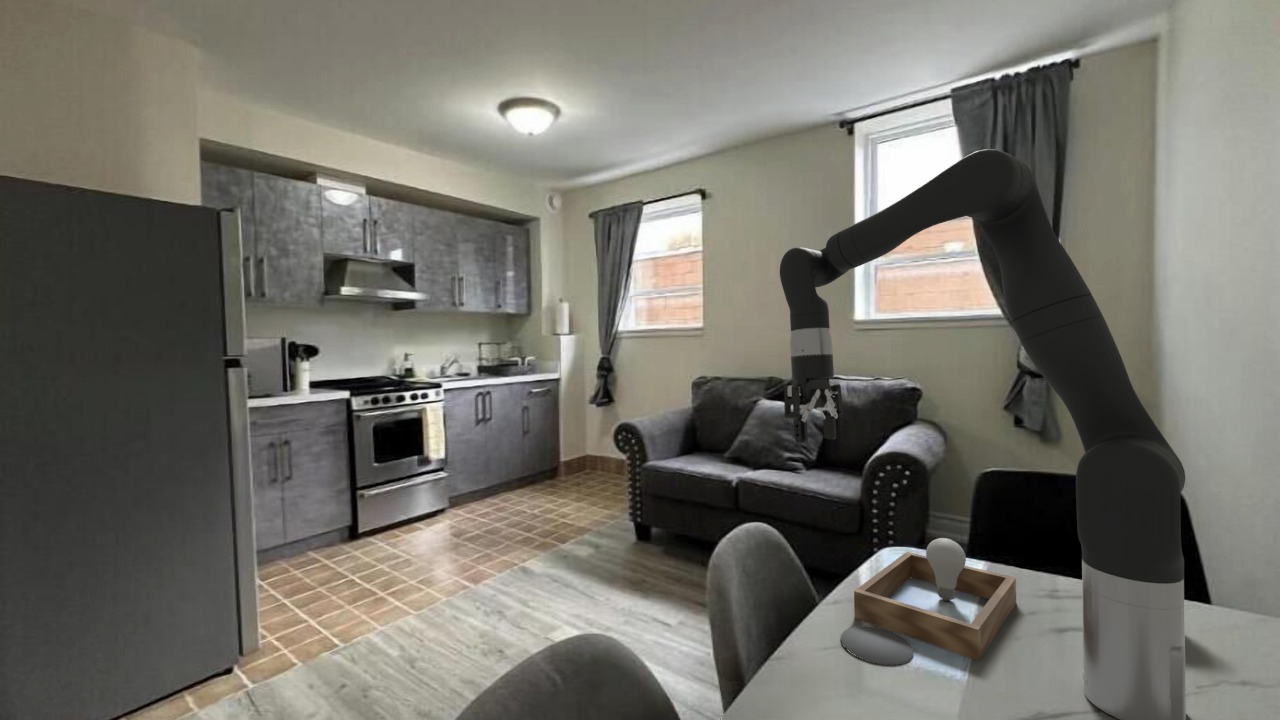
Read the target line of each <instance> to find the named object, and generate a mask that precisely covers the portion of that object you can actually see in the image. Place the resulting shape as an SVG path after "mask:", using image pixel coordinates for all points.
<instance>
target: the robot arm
mask: <svg viewBox="0 0 1280 720" xmlns="http://www.w3.org/2000/svg"><path fill="white" fill-rule="evenodd" d="M965 217H969V218H970V219H971V218H972V219H974V220H975V221H976V223H977V224H978V225H979V227H980V228H981V230H982V231H983V233H984V235H985V236H986V239H987V240H988V241H989V244H990V245H991V248H992V249H993V251H994V254H995V255H996V258H997V260H998V265H999V270H1000V274H1001V277H1000V278H1001V285H1002V286H1001V287H1002V293H1003V299H1004V304H1005V309H1006V310H1007V311H1006V312H1007V314H1008V316H1009V319H1010V322H1011V323H1012V326H1013V328H1014V330H1015V332H1016V335H1017V338H1018V339H1019V342H1020V343H1021V345H1022V347H1023V350H1024V351H1025V354H1027V356H1028V358H1029V359H1030V360H1031V362H1032V363H1033V365H1034V366H1035V368H1036V369H1037V371H1038V372H1039V373H1040V374H1041V375H1042V377H1043V378H1044V379H1045V381H1046V383H1048V384H1049V386H1051V388H1052V389H1053V390H1054V392H1055V393H1056V394H1057V395H1058V397H1059V398H1060V399H1061V400H1062V402H1063V404H1064V406H1065V407H1066V409H1067V410H1068V412H1069V415H1070V417H1071V418H1072V421H1073V422H1074V426H1075V428H1076V430H1077V432H1078V436H1079V438H1080V442H1081V444H1082V446H1083V450H1084V454H1083V455H1082V457H1081V458H1080V459H1079V461H1078V464H1077V467H1076V473H1075V474H1076V476H1075V500H1076V501H1075V502H1076V527H1077V536H1078V541H1079V543H1080V545H1081V546H1080V547H1081V569H1082V570H1081V574H1082V575H1081V576H1082V577H1081V579H1082V581H1081V582H1082V583H1081V587H1082V588H1081V589H1082V592H1081V593H1082V652H1083V653H1082V655H1083V658H1082V661H1083V665H1082V666H1083V667H1082V668H1083V672H1082V676H1083V677H1082V679H1083V692H1084V695H1085V697H1086V698H1087V699H1088V701H1090V703H1092V704H1093V705H1094V706H1095V707H1096V708H1098V709H1100V710H1101V711H1102V712H1103V713H1106V714H1108V715H1109V716H1111V717H1113V718H1115V719H1118V720H1187V716H1186V715H1187V711H1186V710H1187V705H1186V703H1187V701H1186V700H1187V699H1186V696H1187V694H1186V691H1187V690H1186V689H1187V688H1186V635H1185V630H1186V629H1185V628H1186V627H1185V557H1184V554H1183V549H1182V534H1181V532H1182V528H1181V527H1182V525H1181V522H1182V521H1181V519H1182V517H1181V515H1182V514H1181V493H1182V492H1183V490H1184V488H1185V483H1186V472H1185V468H1184V466H1183V463H1182V461H1181V460H1180V458H1179V456H1178V454H1177V453H1176V452H1175V451H1174V449H1173V448H1172V447H1171V445H1170V443H1169V442H1168V441H1167V440H1166V438H1165V437H1164V435H1163V433H1162V432H1161V431H1160V430H1159V428H1158V427H1157V425H1156V424H1155V422H1154V420H1153V419H1152V417H1151V416H1150V414H1149V412H1148V411H1147V410H1146V408H1145V407H1144V405H1143V404H1142V402H1141V400H1140V398H1139V397H1138V394H1137V393H1136V391H1135V389H1134V386H1133V384H1132V382H1131V380H1130V377H1129V373H1128V372H1127V368H1126V366H1125V363H1124V360H1123V358H1122V356H1121V354H1120V353H1121V352H1120V350H1119V349H1118V346H1117V344H1116V341H1115V339H1114V337H1113V334H1112V331H1110V328H1109V326H1108V323H1107V321H1106V319H1105V317H1104V315H1103V313H1102V311H1101V309H1100V307H1099V305H1098V304H1097V301H1096V299H1095V298H1094V295H1093V294H1092V291H1091V290H1090V287H1088V284H1086V281H1085V280H1084V278H1083V276H1082V275H1081V273H1080V271H1079V270H1078V268H1077V266H1076V265H1075V263H1074V261H1073V260H1072V258H1071V256H1070V255H1069V254H1068V252H1067V250H1066V248H1065V247H1064V246H1063V244H1062V242H1060V240H1059V238H1058V237H1057V235H1056V232H1055V231H1054V229H1053V227H1052V225H1051V223H1050V219H1049V217H1048V214H1047V211H1046V209H1045V206H1044V204H1043V199H1042V197H1041V195H1040V191H1039V188H1038V185H1037V182H1036V180H1035V177H1034V174H1033V172H1032V171H1031V169H1030V167H1029V166H1028V165H1027V164H1026V163H1025V162H1024V161H1022V160H1021V159H1019V158H1017V157H1015V156H1014V155H1011V154H1010V153H1007V152H1006V151H1003V150H1000V149H993V148H987V149H981V150H977V151H973V152H972V153H970V154H967V155H966V156H965V157H962V158H961V159H959V160H958V161H957V162H955V163H954V164H952V165H951V166H949V167H947V168H946V169H944V170H943V171H942V172H940V173H939V174H938V175H936V176H934V177H933V178H932V179H931V180H929V181H927V182H926V183H925V184H923V185H922V186H920V187H919V188H917V189H915V190H913V191H912V192H911V193H908V194H907V195H906V196H904V197H902V198H901V199H899V200H897V201H896V202H895V203H892V204H891V205H889V206H887V207H886V208H884V209H882V210H880V211H879V212H876V213H874V214H872V215H869V216H868V217H866V218H865V219H862V220H860V221H858V222H856V223H854V224H852V225H850V226H848V227H846V228H844V229H842V230H840V231H838V232H836V233H834V234H833V235H831V236H830V237H829V238H828V240H827V241H826V245H825V247H823V248H821V249H819V250H816V249H815V250H814V249H812V248H811V249H810V248H806V247H799V246H798V247H793V248H790V249H788V250H787V251H786V252H785V253H784V255H783V256H782V258H781V261H780V264H779V278H780V283H781V286H782V289H783V293H784V297H785V300H786V302H787V306H788V308H789V320H790V321H789V323H790V325H789V326H790V340H789V341H790V343H789V345H790V347H789V348H790V366H791V367H790V368H791V378H792V380H794V381H796V384H795V385H785V386H784V389H783V391H784V392H783V395H784V397H783V399H784V400H783V401H784V402H783V403H784V405H783V407H784V418H785V419H787V420H791V421H792V423H793V433H794V435H793V436H794V437H793V438H794V439H795V442H796V443H797V444H798V443H800V444H805V443H808V441H809V439H808V423H807V422H806V421H807V419H808V416H809V414H810V413H812V412H813V410H814V409H816V410H817V411H819V412H820V413H821V415H822V417H823V419H822V422H823V437H824V439H826V440H836V439H837V420H836V419H838V417H839V416H842V415H843V414H844V408H843V407H844V406H843V396H842V395H843V394H842V387H841V383H838V384H837V383H831V384H830V379H833V378H834V377H835V371H834V369H835V367H834V354H833V341H832V336H831V329H830V326H831V325H830V313H829V312H830V310H829V304H828V301H826V300H825V299H824V298H822V297H820V295H819V294H818V292H817V289H816V288H820V287H824V286H826V285H829V284H831V283H832V282H835V281H836V280H837V279H839V278H840V277H842V276H843V275H845V274H846V273H848V272H849V271H850V270H852V269H853V270H854V269H855V268H858V267H860V266H862V265H865V264H868V263H869V262H872V261H875V260H877V259H879V258H880V257H883V256H885V255H887V254H888V253H890V252H892V251H893V250H895V249H897V248H898V247H899V246H900V245H902V244H903V243H904V242H906V241H907V240H909V239H911V238H912V237H913V236H915V235H917V234H918V233H920V232H922V231H924V230H927V229H929V228H931V227H933V226H937V225H939V224H943V223H946V222H949V221H952V220H956V219H960V218H965ZM835 407H836V408H835ZM792 408H793V409H792Z"/></svg>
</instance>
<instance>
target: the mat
mask: <svg viewBox="0 0 1280 720" xmlns="http://www.w3.org/2000/svg"><path fill="white" fill-rule="evenodd" d="M840 641H842V643H841V645H842V644H843V645H844V646H845V647H846V648H847V649H848V650H849V651H850V652H851V653H853V654H855V655H856V656H858V657H861V658H863V659H865V660H868V661H870V662H869V663H871V662H875V663H874V664H876V663H879V664H878V665H881V664H884V665H883V666H896V665H903V664H905V663H908V662H909V661H911V660H912V658H913V657H914V648H913V645H912V644H911V642H910V641H909V640H907V639H906V638H905V637H903V636H901V634H899V633H897V632H894V631H891V630H888V629H885V628H882V627H879V626H871V625H870V626H869V625H859V626H853V627H849V628H847V629H845V630H844V631H843V632H842V633H841V635H840ZM843 645H842V646H843ZM851 653H850V654H851ZM856 656H855V657H856ZM858 657H857V658H858ZM865 660H864V661H865ZM868 661H867V662H868Z"/></svg>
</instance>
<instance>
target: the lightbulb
mask: <svg viewBox="0 0 1280 720" xmlns="http://www.w3.org/2000/svg"><path fill="white" fill-rule="evenodd" d="M925 556H927V560H928V562H929V564H930V566H931V567H932V569H933V571H934V574H935V578H936V584H937V586H936V587H937V595H938V597H939V598H940V599H942V600H943V601H944V602H950V601H952V600H954V599H955V595H956V594H955V593H956V592H955V588H956V583H957V578H958V576H959V574H960V572H961V571H962V569H963V568H964V566H966V562H967V560H966V559H967V558H966V556H967V555H966V553H965V551H964V549H963V548H962V547H961V545H960V544H959V543H957V542H956V541H954V540H952V539H951V538H946V537H939V538H936V539H933V540H932V541H931V542H929V544H927V547H926V549H925ZM936 584H935V585H936Z"/></svg>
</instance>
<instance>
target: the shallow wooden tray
mask: <svg viewBox="0 0 1280 720" xmlns="http://www.w3.org/2000/svg"><path fill="white" fill-rule="evenodd" d="M911 577H912V578H911ZM910 578H911V579H914V578H915V580H918V581H923V582H926V583H929V584H932V585H937V584H936V578H935V574H934V571H933V569H932V567H931V566H930V564H929V562H928V560H927V556H926V555H922V554H918V553H916V552H915V553H914V552H910V551H906V552H904V553H903V554H902V555H900V556H899V557H898V558H896V559H895V560H893V561H892V562H891V563H890V564H888V565H886V566H885V567H884V568H883V569H882V570H880V571H879V572H878V573H876V574H875V575H874V576H872V577H871V578H870V579H868V580H867V581H866V582H864V583H863V584H862V585H860V586H859V587H858V588H856V589H855V590H853V606H854V608H853V610H854V619H858V620H860V621H863V622H866V623H869V624H871V625H874V626H876V627H879V628H882V629H886V630H889V631H892V632H894V633H896V634H899V635H903V636H906V637H908V638H912V639H914V640H917V641H920V642H923V643H925V644H929V645H931V646H934V647H937V648H940V649H943V650H946V651H949V652H951V653H955V654H958V655H960V656H962V657H966V658H969V659H972V660H975V661H977V662H979V661H980V659H981V658H982V657H983V655H984V654H985V652H986V651H987V649H988V647H989V646H990V645H991V643H992V642H993V639H994V638H995V637H996V635H997V634H998V632H999V631H1000V629H1001V628H1002V626H1003V625H1004V623H1005V622H1006V620H1007V619H1008V617H1009V615H1010V614H1011V612H1012V611H1013V609H1014V608H1015V606H1016V604H1017V577H1013V576H1009V575H1006V574H1002V573H997V572H993V571H989V570H985V569H981V568H977V567H973V566H968V565H965V566H964V568H963V569H962V571H961V572H960V574H959V576H958V578H957V583H956V588H955V590H956V591H959V592H963V593H967V594H969V595H974V596H978V597H982V598H985V599H988V600H987V602H986V604H984V606H983V608H982V609H981V610H980V611H979V612H978V614H977V615H976V616H975V618H974V619H973V620H972V622H971V623H970V622H966V621H964V620H961V619H957V618H953V617H950V616H946V615H944V614H941V613H938V612H934V611H931V610H928V609H924V608H921V607H918V606H914V605H912V604H911V605H910V604H908V603H904V602H901V601H898V600H895V599H892V598H889V597H891V596H893V594H894V593H895V592H896V591H898V590H899V589H901V587H903V586H904V585H903V584H904V583H905V582H906V583H907V582H908V581H909V580H911V579H910ZM907 580H908V581H907ZM906 583H905V584H906Z"/></svg>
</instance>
